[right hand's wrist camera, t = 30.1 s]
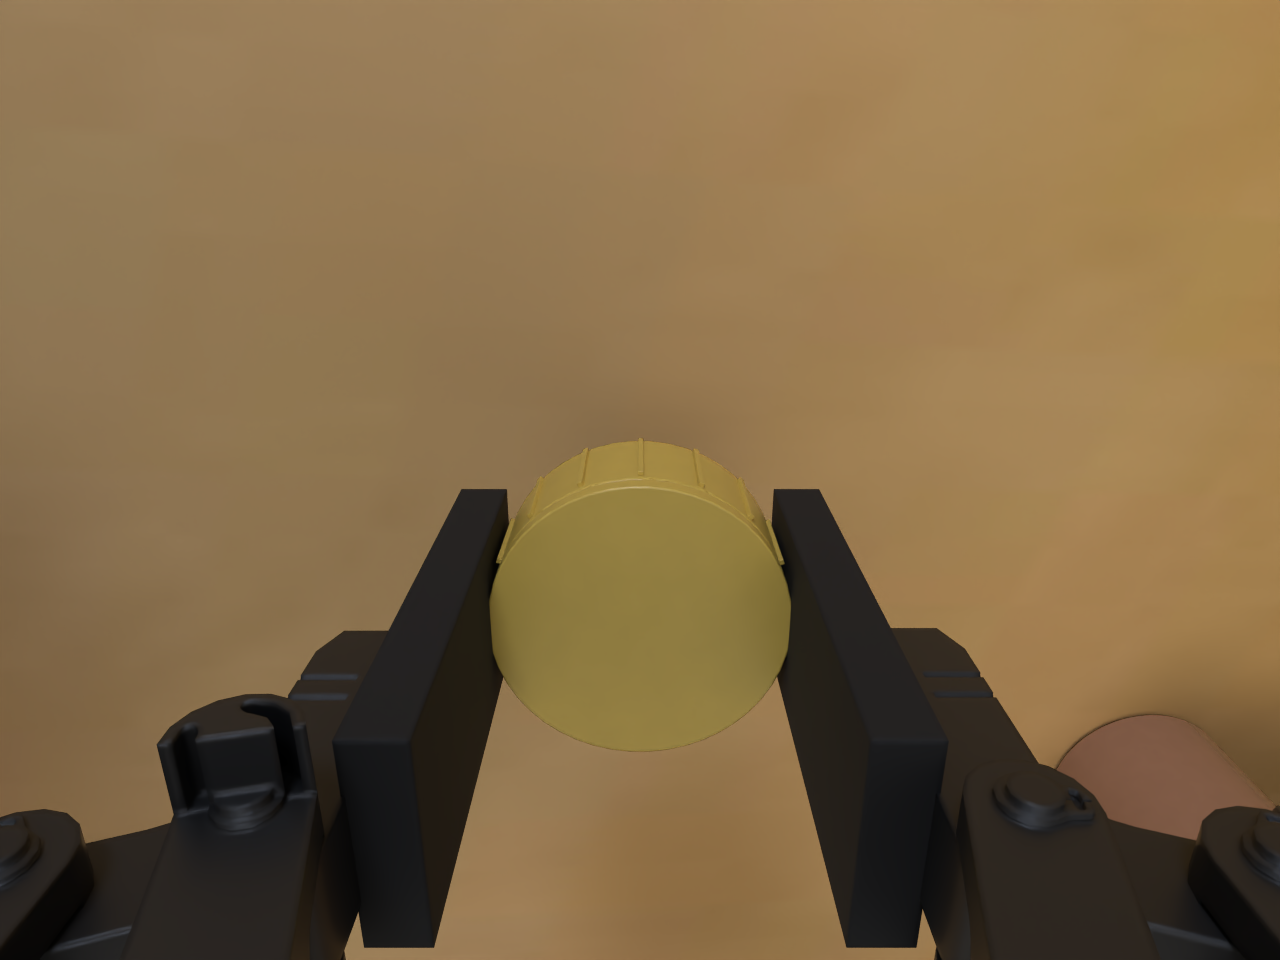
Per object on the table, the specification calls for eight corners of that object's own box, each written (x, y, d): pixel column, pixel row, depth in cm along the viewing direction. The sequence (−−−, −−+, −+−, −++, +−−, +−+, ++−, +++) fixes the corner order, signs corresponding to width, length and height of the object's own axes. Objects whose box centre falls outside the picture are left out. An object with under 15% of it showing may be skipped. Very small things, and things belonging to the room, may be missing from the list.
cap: (605, 719, 16) (599, 798, 14) (451, 530, 15) (422, 589, 13) (822, 598, 15) (849, 665, 13) (681, 384, 14) (687, 423, 12)
